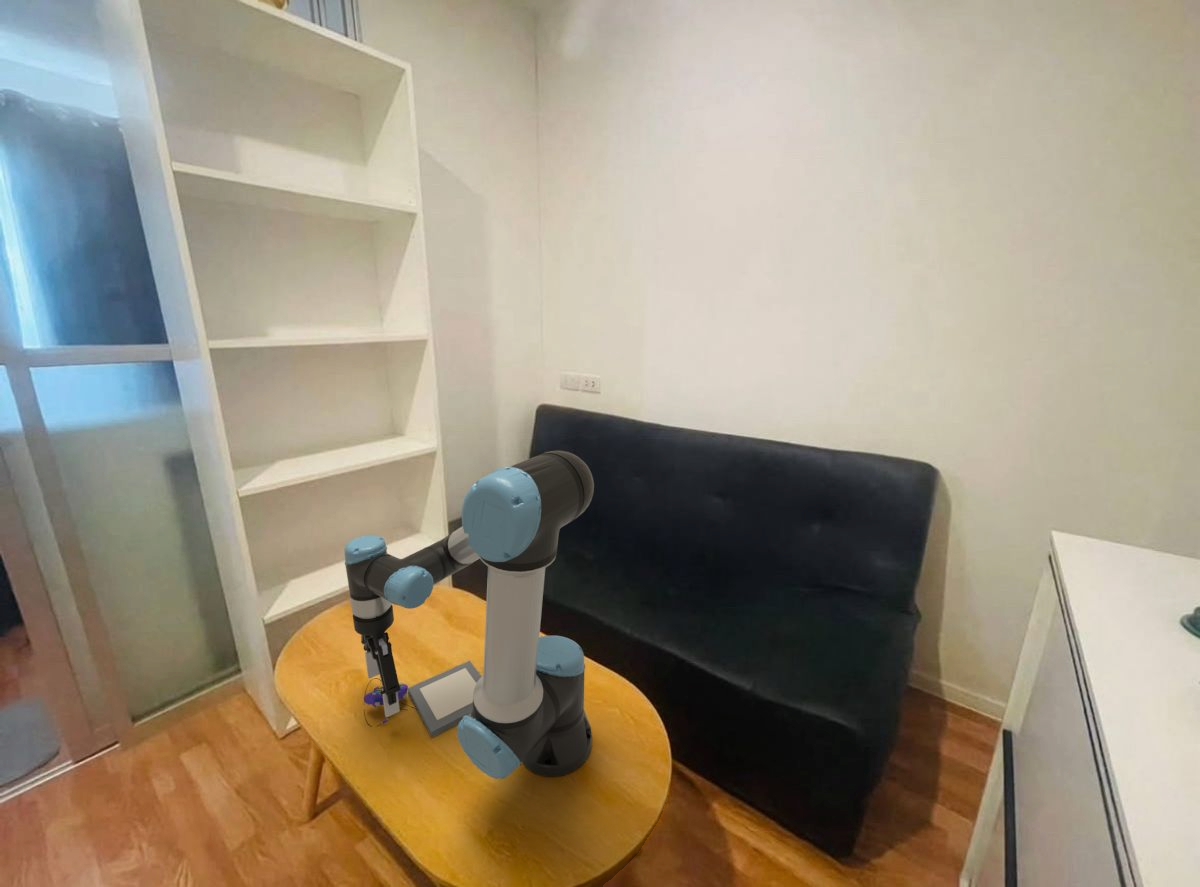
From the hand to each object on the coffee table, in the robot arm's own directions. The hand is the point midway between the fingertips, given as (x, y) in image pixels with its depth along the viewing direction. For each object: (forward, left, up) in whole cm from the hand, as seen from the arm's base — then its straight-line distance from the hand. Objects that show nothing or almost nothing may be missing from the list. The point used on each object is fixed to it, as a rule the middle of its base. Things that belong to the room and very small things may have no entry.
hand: (383, 693), depth 106 cm
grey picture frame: (-6, -13, -4) cm, 15 cm away
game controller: (-1, -1, -5) cm, 5 cm away
